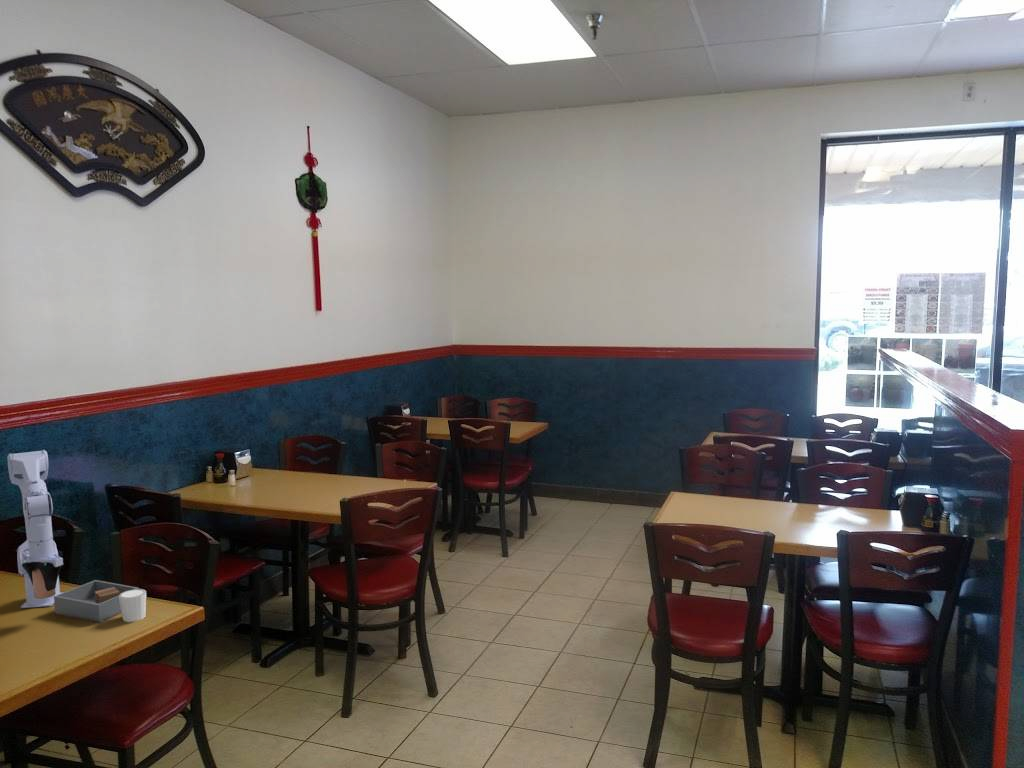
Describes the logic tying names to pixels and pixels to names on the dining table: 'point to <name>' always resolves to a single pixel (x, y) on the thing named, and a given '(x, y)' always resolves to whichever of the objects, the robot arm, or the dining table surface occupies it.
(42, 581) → the terracotta cylinder
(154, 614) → the dining table surface
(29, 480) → the robot arm
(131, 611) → the white cylinder
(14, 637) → the dining table surface
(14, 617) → the dining table surface
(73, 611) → the tote
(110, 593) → the walnut cube
